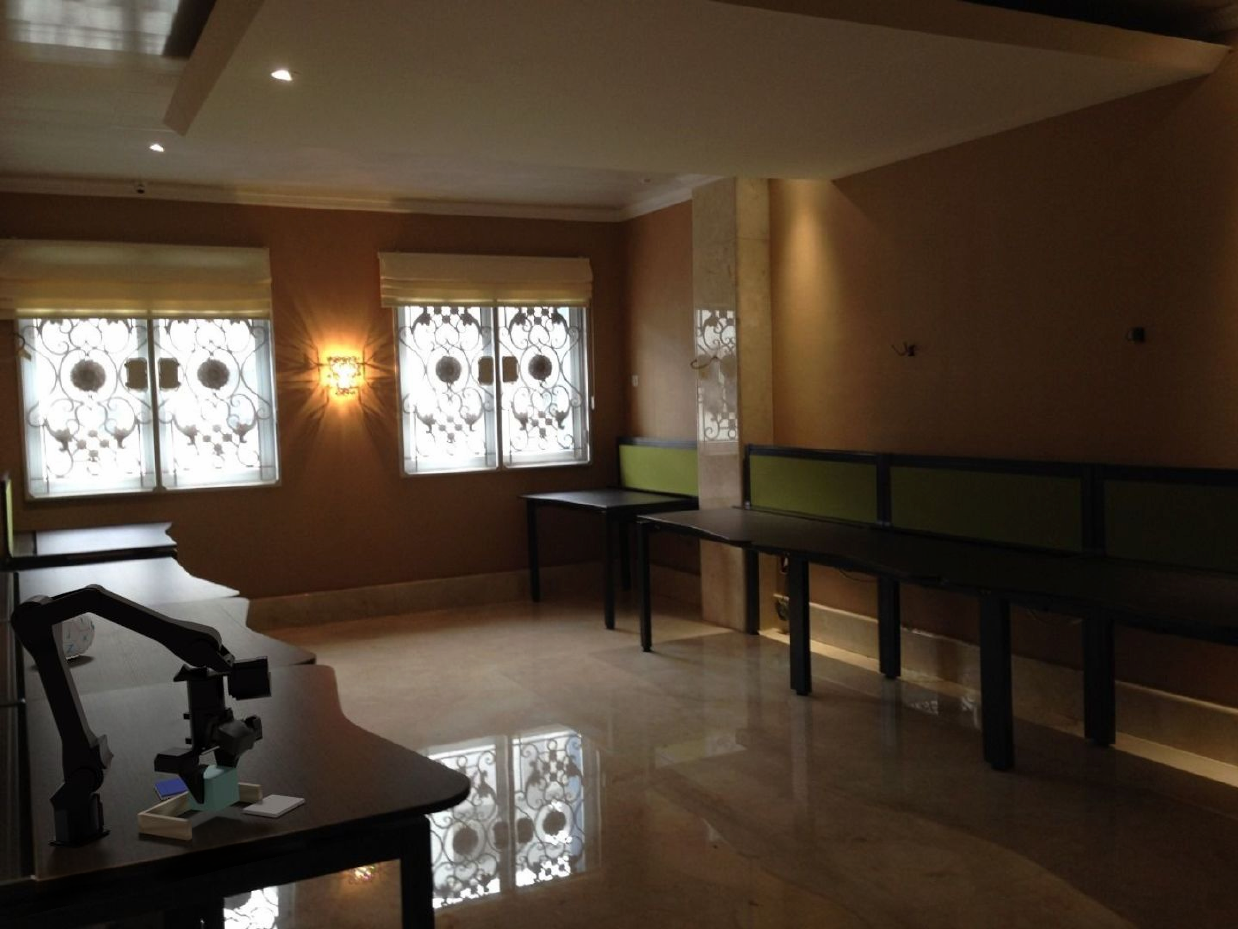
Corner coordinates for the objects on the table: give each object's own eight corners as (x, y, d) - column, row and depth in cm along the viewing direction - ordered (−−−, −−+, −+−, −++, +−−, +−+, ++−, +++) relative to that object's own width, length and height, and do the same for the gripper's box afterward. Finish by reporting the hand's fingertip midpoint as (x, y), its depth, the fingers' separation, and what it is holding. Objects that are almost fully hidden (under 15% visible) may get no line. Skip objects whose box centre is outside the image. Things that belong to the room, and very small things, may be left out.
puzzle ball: (42, 656, 309) (38, 604, 308) (100, 650, 314) (96, 599, 313) (31, 669, 295) (26, 614, 294) (92, 662, 299) (87, 608, 298)
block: (215, 812, 176) (212, 779, 176) (189, 809, 178) (186, 776, 178) (239, 800, 181) (237, 768, 181) (214, 796, 183) (211, 765, 183)
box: (188, 840, 171) (186, 821, 171) (138, 832, 175) (137, 814, 175) (262, 802, 186) (261, 785, 186) (215, 795, 191) (214, 778, 190)
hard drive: (224, 766, 203) (153, 782, 196) (235, 778, 196) (161, 795, 189) (225, 775, 203) (154, 790, 196) (235, 787, 196) (162, 803, 189)
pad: (276, 817, 179) (275, 814, 179) (243, 812, 182) (243, 809, 182) (304, 802, 185) (304, 798, 185) (272, 797, 188) (272, 794, 188)
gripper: (201, 725, 167) (209, 824, 168) (284, 692, 184) (291, 782, 185) (147, 719, 171) (155, 816, 172) (233, 687, 188) (240, 776, 189)
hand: (214, 797), depth 180 cm, fingers closed on block, 5 cm apart
